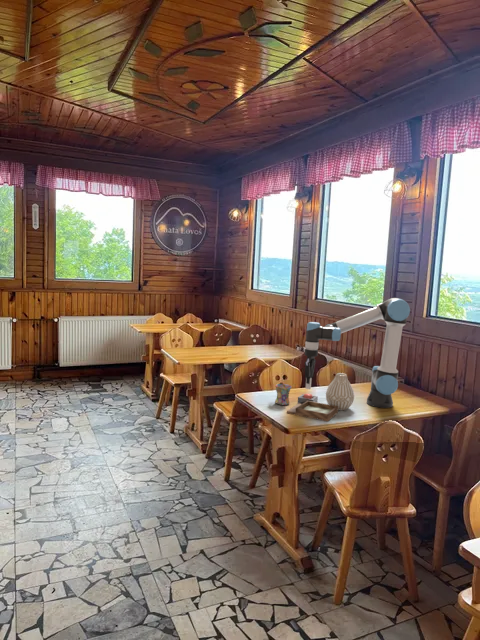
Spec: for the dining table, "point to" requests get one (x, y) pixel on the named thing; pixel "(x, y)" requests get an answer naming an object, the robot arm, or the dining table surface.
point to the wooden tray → (314, 410)
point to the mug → (282, 394)
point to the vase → (340, 392)
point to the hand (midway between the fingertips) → (308, 388)
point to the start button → (308, 396)
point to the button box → (306, 399)
